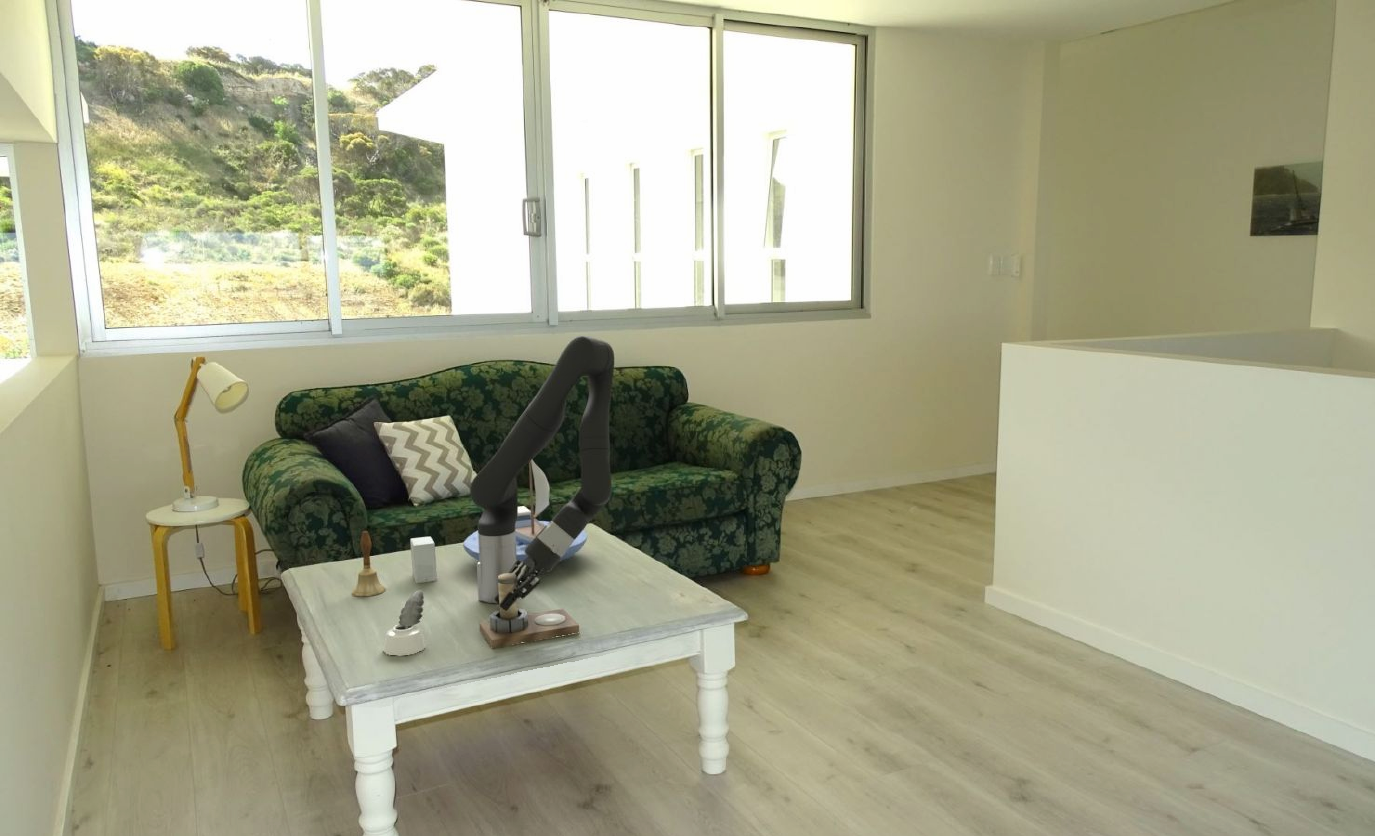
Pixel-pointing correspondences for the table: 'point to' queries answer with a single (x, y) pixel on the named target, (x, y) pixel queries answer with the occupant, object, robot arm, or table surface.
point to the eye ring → (509, 622)
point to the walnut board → (530, 630)
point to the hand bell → (367, 572)
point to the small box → (423, 559)
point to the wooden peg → (505, 587)
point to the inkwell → (407, 629)
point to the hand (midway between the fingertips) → (500, 604)
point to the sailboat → (529, 521)
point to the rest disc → (549, 619)
